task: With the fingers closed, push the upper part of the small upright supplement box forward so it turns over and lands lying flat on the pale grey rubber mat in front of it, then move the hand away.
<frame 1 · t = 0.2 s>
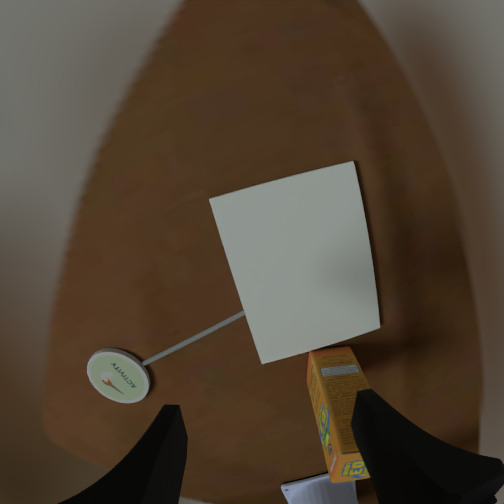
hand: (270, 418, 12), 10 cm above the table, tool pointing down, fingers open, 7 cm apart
supplement box: (324, 362, 23), on the table
mat: (305, 269, 21), on the table
sign: (167, 348, 22), on the table
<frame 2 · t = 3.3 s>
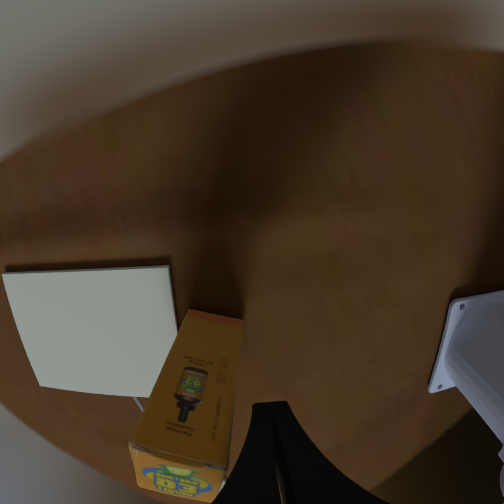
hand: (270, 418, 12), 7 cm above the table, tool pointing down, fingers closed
supplement box: (213, 336, 18), on the table, touching gripper
mat: (90, 336, 18), on the table
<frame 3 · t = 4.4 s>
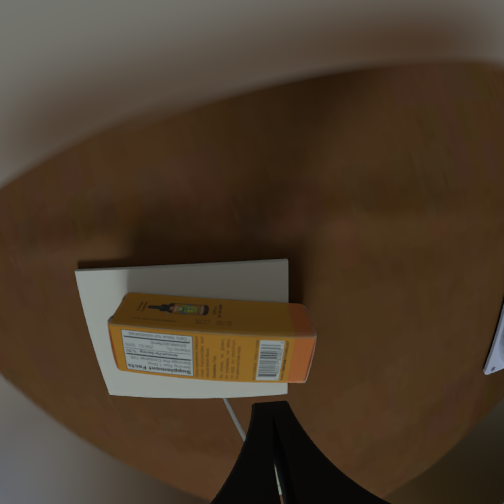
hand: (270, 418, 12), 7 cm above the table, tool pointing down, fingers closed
supplement box: (310, 345, 16), point 2 cm above the table, touching mat
mat: (184, 337, 18), on the table
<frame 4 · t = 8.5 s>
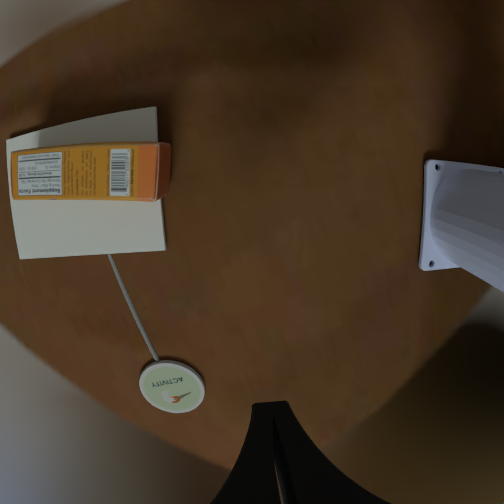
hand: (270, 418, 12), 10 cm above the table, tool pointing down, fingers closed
supplement box: (168, 173, 17), point 2 cm above the table, touching mat
mat: (76, 188, 19), on the table
sign: (147, 331, 22), on the table
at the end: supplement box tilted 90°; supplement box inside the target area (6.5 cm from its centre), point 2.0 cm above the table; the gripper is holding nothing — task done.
